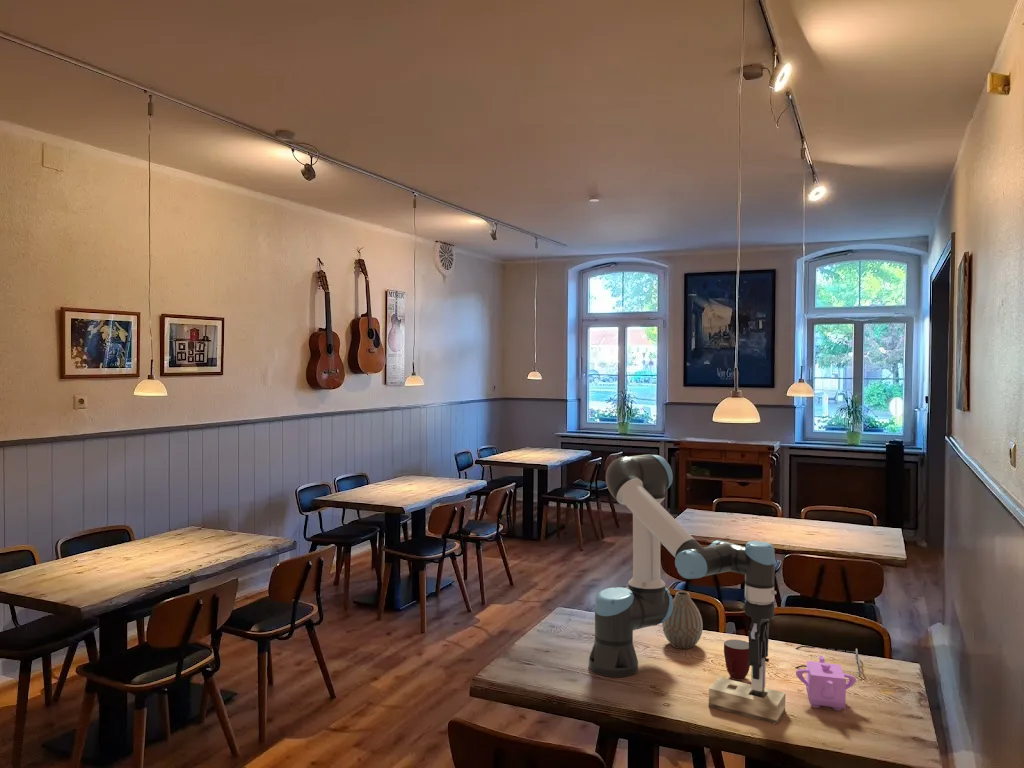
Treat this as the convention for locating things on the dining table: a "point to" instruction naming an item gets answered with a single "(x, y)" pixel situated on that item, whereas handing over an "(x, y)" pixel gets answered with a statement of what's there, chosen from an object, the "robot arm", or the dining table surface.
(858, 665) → the eyeglasses
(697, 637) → the vase
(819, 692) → the teapot
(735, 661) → the mug
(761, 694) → the pin
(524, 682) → the dining table surface
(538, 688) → the dining table surface
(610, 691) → the dining table surface
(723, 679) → the block
